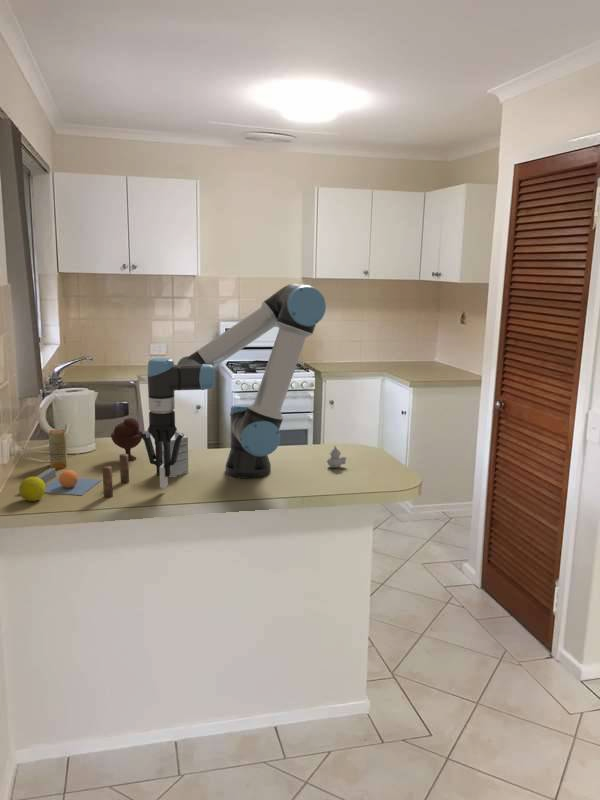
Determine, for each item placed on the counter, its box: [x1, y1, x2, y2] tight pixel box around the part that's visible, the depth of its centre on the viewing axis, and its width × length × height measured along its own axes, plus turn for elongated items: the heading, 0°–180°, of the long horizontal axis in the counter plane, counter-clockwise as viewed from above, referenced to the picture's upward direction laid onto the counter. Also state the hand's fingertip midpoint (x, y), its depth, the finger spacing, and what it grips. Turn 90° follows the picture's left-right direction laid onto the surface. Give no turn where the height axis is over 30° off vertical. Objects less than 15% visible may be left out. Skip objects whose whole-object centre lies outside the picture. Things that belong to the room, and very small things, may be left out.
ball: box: [58, 469, 79, 488], centre depth 200 cm, size 6×6×6 cm
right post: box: [119, 453, 130, 485], centre depth 205 cm, size 3×3×9 cm
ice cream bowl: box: [110, 417, 144, 462], centre depth 228 cm, size 11×11×15 cm
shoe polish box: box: [48, 429, 68, 469], centre depth 220 cm, size 5×5×12 cm
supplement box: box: [162, 434, 189, 478], centre depth 215 cm, size 7×7×13 cm
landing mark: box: [44, 477, 103, 496], centre depth 202 cm, size 14×14×1 cm
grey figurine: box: [326, 445, 347, 469], centre depth 224 cm, size 5×7×8 cm
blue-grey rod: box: [35, 467, 57, 484], centre depth 203 cm, size 2×16×2 cm, turn 173°
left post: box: [102, 465, 114, 499], centre depth 193 cm, size 3×3×9 cm
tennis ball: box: [18, 476, 46, 502], centre depth 189 cm, size 7×7×7 cm
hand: (163, 486), depth 198 cm, fingers closed
